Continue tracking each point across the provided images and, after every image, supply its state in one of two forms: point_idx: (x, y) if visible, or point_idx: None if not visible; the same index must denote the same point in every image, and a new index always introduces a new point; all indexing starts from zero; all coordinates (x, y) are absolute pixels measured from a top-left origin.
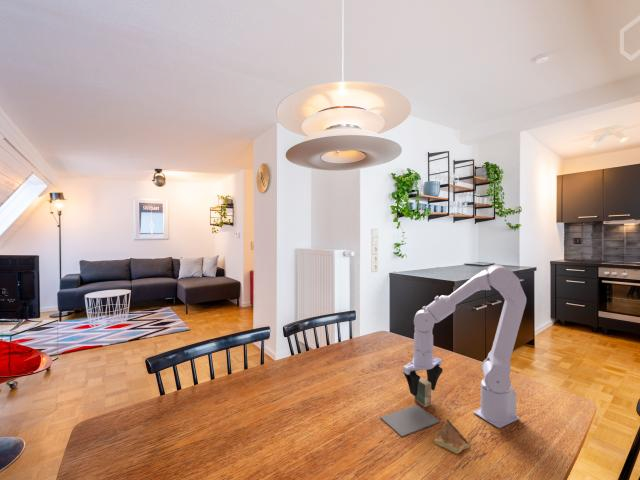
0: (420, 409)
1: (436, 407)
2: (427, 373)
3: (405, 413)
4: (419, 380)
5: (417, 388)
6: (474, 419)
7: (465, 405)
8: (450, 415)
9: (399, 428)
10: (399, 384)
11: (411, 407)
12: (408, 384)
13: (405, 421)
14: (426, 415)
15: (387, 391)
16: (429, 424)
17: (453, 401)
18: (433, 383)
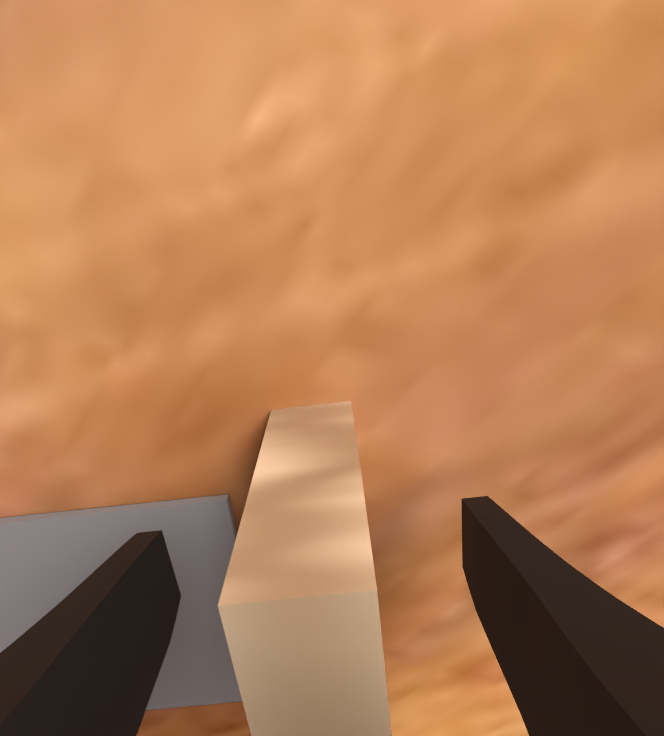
0: (215, 562)
1: (385, 562)
2: (569, 654)
3: (47, 569)
4: (256, 682)
5: (141, 717)
6: (524, 728)
7: (636, 609)
8: (406, 661)
9: None
10: (307, 5)
11: (150, 519)
12: (43, 621)
13: (2, 639)
14: (213, 632)
15: (37, 132)
16: (169, 704)
17: (603, 542)
18: (501, 651)
